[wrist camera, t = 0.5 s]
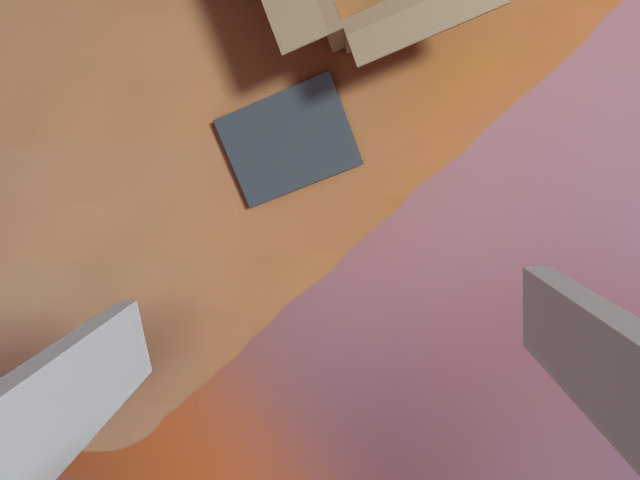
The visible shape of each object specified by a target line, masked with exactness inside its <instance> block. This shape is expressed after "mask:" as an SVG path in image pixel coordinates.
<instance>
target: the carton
mask: <svg viewBox="0 0 640 480" xmlns="http://www.w3.org/2000/svg"><path fill="white" fill-rule="evenodd" d="M261 2H262V4H263V7H264V10H265V12H266V15H267V17H268V20H269V23H270V25H271V28H272V31H273V33H274V36H275V38H276V41H277V44H278V46H279V49H280V52H281V54H282V56H284V55H286V54H289V53H291V52H293V51H295V50H298V49H300V48H302V47H304V46H307V45H309V44H311V43H313V42H316V41H318V40H320V39H322V38H325V37H327V39H328V42H329V45H330V48H331V51H332V53H334V52H337V51H339V50H341V49H343V48H345V50H346V53H347V54H349V53H351V52H352V55H353V57H354V60H355V63H356V66H357V68H359V67H361V66H364V65H366V64H369V63H371V62H373V61H376V60H378V59H380V58H383V57H385V56H387V55H390V54H392V53H394V52H397V51H399V50H401V49H404V48H406V47H408V46H411V45H413V44H415V43H418V42H420V41H422V40H425V39H427V38H429V37H432V36H434V35H436V34H439V33H441V32H443V31H446V30H448V29H450V28H453V27H455V26H457V25H460V24H462V23H464V22H467V21H469V20H472V19H474V18H476V17H479V16H481V15H483V14H486V13H488V12H490V11H493V10H495V9H497V8H500V7H502V6H504V5H507V4H508V3H509V0H384V1H382V2H380V3H378V4H375V5H373V6H371V7H369V8H367V9H364V10H362V11H360V12H358V13H355V14H353V15H351V16H349V17H346V18H344V19H342V20H340V17H339V14H338V11H337V8H336V5H335V2H334V0H261Z"/></svg>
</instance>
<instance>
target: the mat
mask: <svg viewBox="0 0 640 480" xmlns="http://www.w3.org/2000/svg"><path fill="white" fill-rule="evenodd" d="M213 122H214V124H215V127H216V129H217V131H218V134H219V136H220V139H221V141H222V143H223V146H224V148H225V150H226V153H227V155H228V158H229V160H230V162H231V165H232V167H233V169H234V172H235V174H236V177H237V179H238V181H239V184H240V186H241V188H242V191H243V193H244V196H245V198H246V200H247V203H248V205H249V207H250V208H251V207H253V206H256V205H258V204H261V203H263V202H266V201H269V200H271V199H274V198H276V197H279V196H281V195H284V194H286V193H289V192H292V191H294V190H297V189H299V188H302V187H304V186H307V185H310V184H312V183H315V182H317V181H320V180H322V179H325V178H327V177H330V176H333V175H335V174H338V173H340V172H343V171H345V170H348V169H351V168H353V167H356V166H358V165H361V164H363V161H362V158H361V156H360V153H359V150H358V147H357V145H356V142H355V139H354V136H353V134H352V131H351V128H350V125H349V123H348V120H347V117H346V114H345V112H344V109H343V106H342V103H341V101H340V98H339V95H338V92H337V90H336V87H335V84H334V81H333V79H332V76H331V73H330V70H329V71H327V72H325V73H322V74H320V75H318V76H315V77H313V78H311V79H308V80H306V81H304V82H301V83H299V84H297V85H294V86H292V87H290V88H288V89H285V90H283V91H281V92H278V93H276V94H274V95H271V96H269V97H267V98H264V99H262V100H260V101H257V102H255V103H253V104H250V105H248V106H246V107H243V108H241V109H239V110H236V111H234V112H232V113H230V114H227V115H225V116H223V117H220V118H218V119H216V120H213Z"/></svg>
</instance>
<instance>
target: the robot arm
mask: <svg viewBox="0 0 640 480" xmlns="http://www.w3.org/2000/svg"><path fill="white" fill-rule="evenodd" d="M523 344H524V347H525V348H526V349H527V350H528V351H529V352H530V353H531V355H532V356H533V357H534V358H535V359H536V360H537V361H538V362H539V363H540V365H541V366H542V367H543V368H544V369H545V370H546V371H547V373H548V374H549V375H550V376H551V377H552V378H553V379H554V380H555V382H556V383H557V384H558V385H559V386H560V387H561V388H562V389H563V390H564V391H565V393H566V394H567V395H568V396H569V397H570V398H571V399H572V401H573V402H574V403H575V404H576V405H577V406H578V407H579V409H580V410H581V411H582V412H583V413H584V414H585V415H586V416H587V418H588V419H589V420H590V421H591V422H592V423H593V424H594V425H595V426H596V428H597V429H598V430H599V431H600V432H601V433H602V434H603V435H604V437H606V439H607V440H608V441H609V442H610V443H611V444H612V446H613V447H614V448H615V449H616V450H617V451H618V452H619V453H620V454H621V456H622V457H623V458H624V459H625V460H626V461H627V462H628V463H629V465H630V466H631V467H632V468H633V469H634V470H635V471H636V472H637V474H638V475H639V476H640V319H639V318H638V317H636V316H634V315H632V314H631V313H629V312H627V311H626V310H624V309H622V308H620V307H619V306H617V305H615V304H614V303H612V302H610V301H609V300H607V299H605V298H603V297H602V296H600V295H598V294H597V293H595V292H593V291H591V290H590V289H588V288H586V287H584V286H583V285H581V284H579V283H578V282H576V281H574V280H572V279H571V278H569V277H567V276H565V275H564V274H562V273H560V272H558V271H557V270H555V269H554V268H552V267H550V266H548V265H542V266H531V267H523ZM151 372H152V368H151V363H150V359H149V354H148V350H147V345H146V341H145V336H144V332H143V327H142V323H141V318H140V314H139V309H138V305H137V300H136V301H124V302H116V303H114V304H112V305H111V306H109V307H108V308H106V309H105V310H103V311H102V312H100V313H99V314H97V315H96V316H94V317H93V318H91V319H90V320H88V321H87V322H85V323H83V324H82V325H80V326H79V327H77V328H76V329H74V330H73V331H71V332H70V333H68V334H67V335H65V336H64V337H62V338H61V339H59V340H58V341H56V342H54V343H53V344H51V345H50V346H48V347H47V348H45V349H44V350H42V351H41V352H39V353H38V354H36V355H35V356H33V357H32V358H30V359H29V360H27V361H26V362H24V363H22V364H21V365H19V366H18V367H16V368H15V369H13V370H12V371H10V372H9V373H7V374H6V375H4V376H3V377H1V378H0V480H56V479H57V478H58V477H59V475H60V474H61V473H62V472H63V471H64V470H65V469H66V468H67V466H68V465H69V464H70V463H71V462H72V461H73V460H74V459H75V457H76V456H77V455H78V454H79V453H80V452H81V451H82V450H83V448H84V447H85V446H86V445H87V444H88V443H89V442H90V440H91V439H92V438H93V437H94V436H95V435H96V434H97V433H98V431H99V430H100V429H101V428H102V427H103V426H104V425H105V424H106V422H107V421H108V420H109V419H110V418H111V417H112V416H113V415H114V413H115V412H116V411H117V410H118V409H119V408H120V407H121V406H122V404H123V403H124V402H125V401H126V400H127V399H128V398H129V397H130V395H131V394H132V393H133V392H134V391H135V390H136V389H137V388H138V386H139V385H140V384H141V383H142V382H143V381H144V380H145V379H146V377H147V376H148V375H149V374H150V373H151Z"/></svg>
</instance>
